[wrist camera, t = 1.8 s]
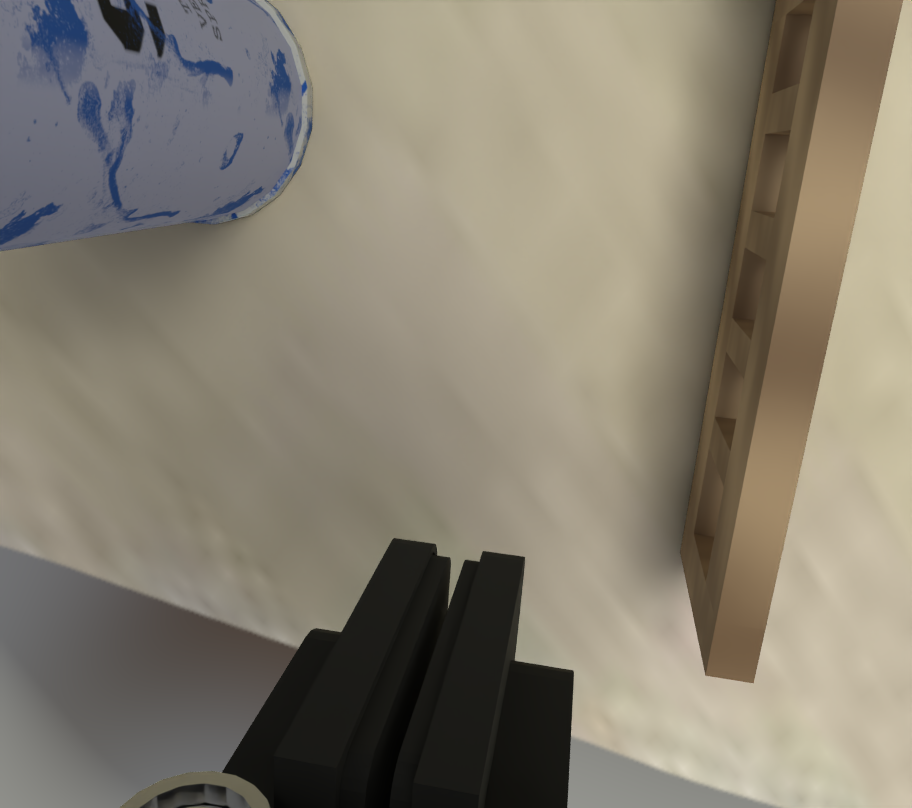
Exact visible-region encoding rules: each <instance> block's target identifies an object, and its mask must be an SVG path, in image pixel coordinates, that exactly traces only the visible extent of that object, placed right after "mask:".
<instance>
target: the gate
mask: <svg viewBox="0 0 912 808" xmlns="http://www.w3.org/2000/svg"><path fill="white" fill-rule="evenodd" d="M902 3H903V0H776V4H775V10H774V15H773V21H772V27H771V33H770V38H769V44H768V50H767V56H766V61H765V67H764V73H763V79H762V84H761V90H760V96H759V102H758V107H757V113H756V119H755V125H754V131H753V136H752V142H751V148H750V154H749V159H748V165H747V171H746V177H745V182H744V188H743V194H742V200H741V205H740V211H739V217H738V223H737V228H736V234H735V240H734V246H733V251H732V257H731V263H730V269H729V274H728V280H727V286H726V292H725V297H724V303H723V309H722V315H721V320H720V326H719V332H718V338H717V343H716V349H715V355H714V361H713V366H712V372H711V378H710V384H709V389H708V395H707V401H706V407H705V412H704V418H703V424H702V430H701V435H700V441H699V447H698V453H697V458H696V464H695V470H694V476H693V481H692V487H691V493H690V499H689V504H688V510H687V516H686V522H685V527H684V533H683V539H682V545H681V550H680V554H681V558H682V563H683V568H684V573H685V578H686V583H687V588H688V592H689V597H690V602H691V607H692V612H693V617H694V622H695V626H696V631H697V636H698V641H699V646H700V651H701V656H702V660H703V665H704V670H705V675H706V676H712V677H718V678H724V679H731V680H737V681H743V682H749V683H754V678H755V674H756V669H757V665H758V660H759V656H760V651H761V646H762V642H763V637H764V633H765V628H766V624H767V619H768V614H769V610H770V605H771V601H772V596H773V592H774V587H775V582H776V578H777V573H778V569H779V564H780V560H781V555H782V550H783V546H784V541H785V537H786V532H787V528H788V523H789V519H790V514H791V509H792V505H793V500H794V496H795V491H796V487H797V482H798V477H799V473H800V468H801V464H802V459H803V455H804V450H805V445H806V441H807V436H808V432H809V427H810V423H811V418H812V414H813V409H814V404H815V400H816V395H817V391H818V386H819V382H820V377H821V372H822V368H823V363H824V359H825V354H826V350H827V345H828V340H829V336H830V331H831V327H832V322H833V318H834V313H835V308H836V304H837V299H838V295H839V290H840V286H841V281H842V277H843V272H844V267H845V263H846V258H847V254H848V249H849V245H850V240H851V235H852V231H853V226H854V222H855V217H856V213H857V208H858V203H859V199H860V194H861V190H862V185H863V181H864V176H865V172H866V167H867V162H868V158H869V153H870V149H871V144H872V140H873V135H874V130H875V126H876V121H877V117H878V112H879V108H880V103H881V98H882V94H883V89H884V85H885V80H886V76H887V71H888V67H889V62H890V57H891V53H892V48H893V44H894V39H895V35H896V30H897V25H898V21H899V16H900V12H901V7H902Z"/></svg>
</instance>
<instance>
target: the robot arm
mask: <svg viewBox="0 0 912 808" xmlns="http://www.w3.org/2000/svg"><path fill="white" fill-rule="evenodd" d="M524 566H525V557H521V556H514V555H507V554H500V553H493V552H486V551H483V553H482V555H481V559H480V562H477V561H470V560H465V561H464V564H463V567H462V570H461V573H460V576H459V579H458V581H457V584H456V587H455V590H454V593H453V596H452V599H451V602H450V605H449V608H448V596H449V583H450V568H451V560H450V557H443V556H437V547H436V544H431V543H424V542H417V541H410V540H403V539H396V538H394V539H393V540H392V541H391V543H390V545H389V547H388V549H387V550H386V552H385V554H384V556H383V558H382V559H381V561H380V563H379V565H378V567H377V569H376V570H375V572H374V574H373V576H372V578H371V580H370V581H369V583H368V585H367V587H366V589H365V590H364V592H363V594H362V596H361V598H360V600H359V601H358V603H357V605H356V607H355V609H354V611H353V612H352V614H351V616H350V618H349V620H348V621H347V623H346V625H345V627H344V629H343V631H342V632H335V631H329V630H323V629H317V628H316V629H313V630H311V631H310V632H309V634H308V635H307V636H306V637H305V639H304V641H303V642H302V644H301V645H300V647H299V649H298V650H297V652H296V654H295V655H294V657H293V658H292V660H291V662H290V663H289V665H288V666H287V668H286V670H285V671H284V673H283V675H282V676H281V678H280V680H279V681H278V683H277V684H276V686H275V687H274V690H273V691H272V692H271V694H270V696H269V697H268V699H267V700H266V702H265V704H264V705H263V707H262V709H261V710H260V712H259V714H258V715H257V717H256V718H255V720H254V722H253V723H252V725H251V726H250V728H249V730H248V731H247V733H246V734H245V736H244V738H243V739H242V741H241V742H240V744H239V746H238V747H237V749H236V751H235V752H234V754H233V756H232V757H231V759H230V760H229V762H228V764H227V765H226V767H225V769H224V770H223V772H222V773H220V772H215V771H207V772H190V773H185V774H181V775H177V776H174V777H171V778H167V779H163V780H161V781H159V782H157V783H155V784H153V785H151V786H149V787H147V788H145V789H143V790H142V791H139V792H138V793H137V794H135V795H134V796H133V797H132V798H131V799H129V800H128V801H127V802H126V803H125V804H123V805H122V806H121V807H120V808H567V801H568V800H567V799H568V780H569V759H570V741H571V721H572V701H573V681H574V672H573V670H567V669H561V668H554V667H548V666H542V665H536V664H530V663H524V662H518V661H515V652H516V643H517V633H518V624H519V614H520V605H521V595H522V586H523V576H524ZM447 610H448V611H447Z"/></svg>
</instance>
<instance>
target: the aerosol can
mask: <svg viewBox="0 0 912 808" xmlns="http://www.w3.org/2000/svg"><path fill="white" fill-rule="evenodd" d="M311 130H312V85H311V81H310V78H309V74H308V70H307V67H306V63H305V59H304V56H303V52H302V49H301V46H300V45H299V43H298V41H297V40H296V38H295V37H294V35H293V33H292V32H291V30H290V28H289V27H288V25H287V23H286V22H285V20H284V19H283V17H282V15H281V14H280V12H279V11H278V10H277V9H276V8H275V7H273V6H272V5H271V4H270V3H269V2H268V1H267V0H0V251H4V250H11V249H18V248H24V247H31V246H37V245H44V244H50V243H57V242H64V241H70V240H77V239H83V238H90V237H96V236H103V235H110V234H116V233H123V232H129V231H136V230H143V229H149V228H156V227H162V226H169V225H175V224H182V223H189V222H192V223H203V224H220V223H224V222H227V221H231V220H235V219H238V218H242V217H246V216H250V215H253V214H254V213H255V212H257V211H258V210H260V209H261V208H262V207H264V206H265V205H267V204H268V203H269V202H271V201H272V200H274V199H275V198H277V197H278V196H279V195H280V194H281V193H282V191H283V190H284V189H285V187H286V186H287V184H288V183H289V181H290V180H291V179H292V177H293V176H294V174H295V173H296V172H297V170H298V169H299V167H300V166H301V163H302V160H303V156H304V153H305V150H306V147H307V143H308V140H309V137H310V134H311Z"/></svg>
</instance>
